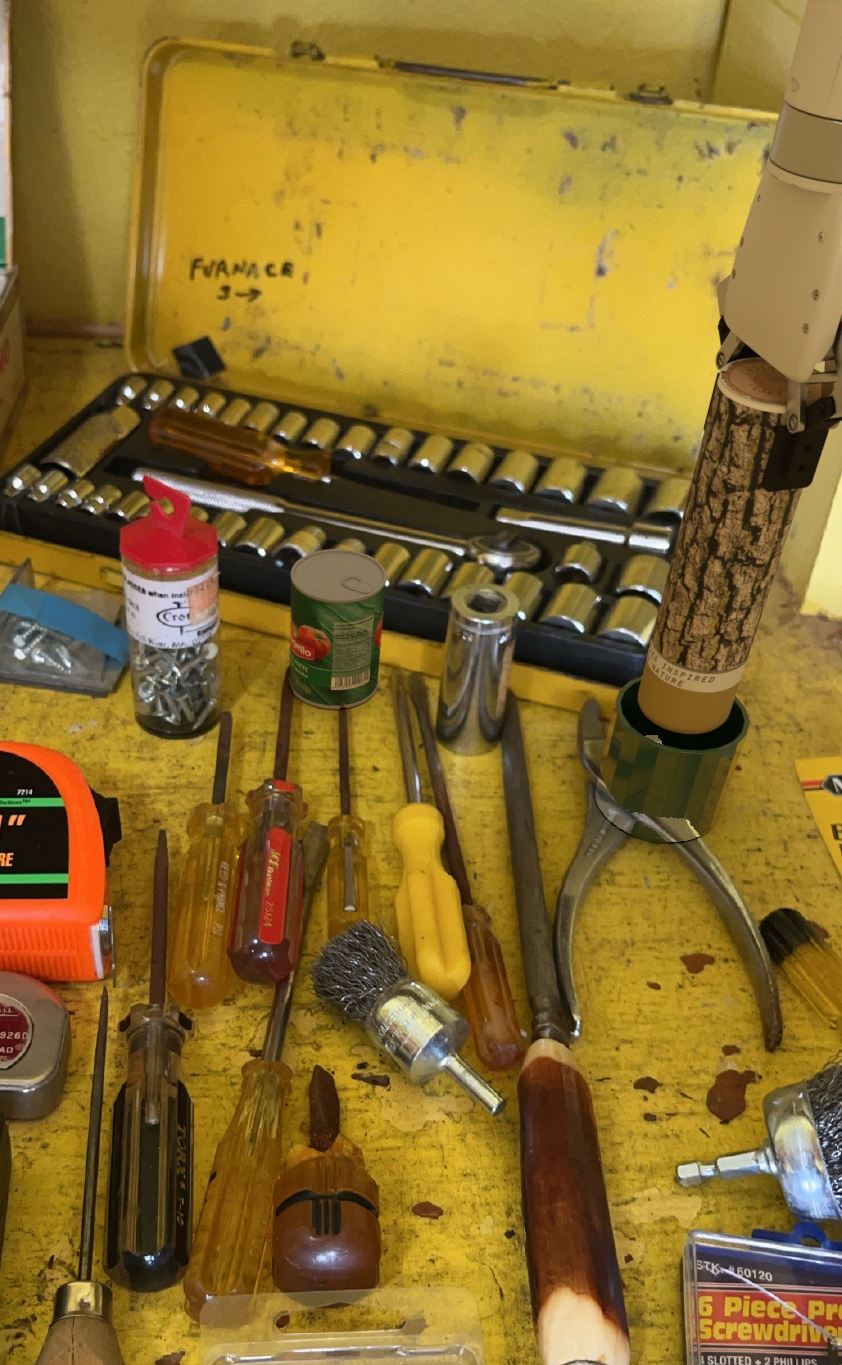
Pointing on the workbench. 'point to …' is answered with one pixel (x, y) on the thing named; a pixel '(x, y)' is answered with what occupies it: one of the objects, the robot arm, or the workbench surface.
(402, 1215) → the workbench surface
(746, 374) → the paper tube
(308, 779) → the workbench surface
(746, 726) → the tool cup
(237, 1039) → the workbench surface
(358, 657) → the canned tomato
